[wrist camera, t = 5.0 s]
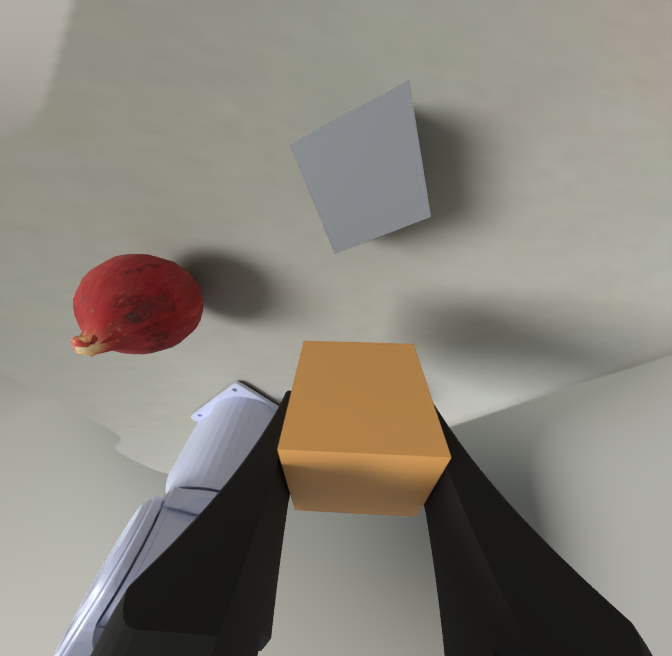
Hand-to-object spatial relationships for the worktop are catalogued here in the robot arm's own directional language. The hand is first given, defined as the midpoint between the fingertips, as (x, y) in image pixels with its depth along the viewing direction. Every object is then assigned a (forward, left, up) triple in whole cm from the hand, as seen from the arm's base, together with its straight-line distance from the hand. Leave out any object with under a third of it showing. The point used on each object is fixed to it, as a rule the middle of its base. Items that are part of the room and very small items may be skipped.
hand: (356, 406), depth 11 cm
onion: (-8, +10, -9) cm, 16 cm away
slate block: (+6, +6, -9) cm, 12 cm away
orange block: (0, 0, -2) cm, 2 cm away
